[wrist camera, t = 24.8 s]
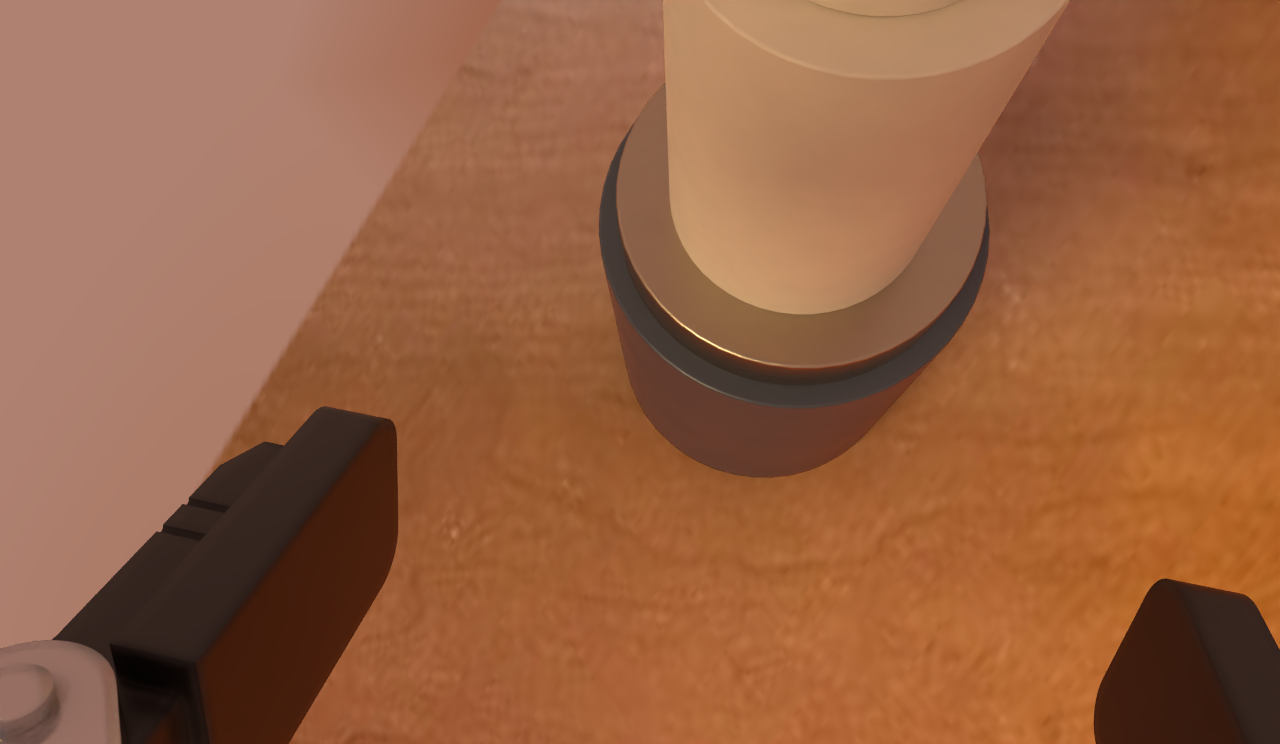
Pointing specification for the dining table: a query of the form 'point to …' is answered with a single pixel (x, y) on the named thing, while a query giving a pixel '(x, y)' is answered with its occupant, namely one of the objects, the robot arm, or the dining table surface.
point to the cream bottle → (830, 133)
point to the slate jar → (770, 327)
